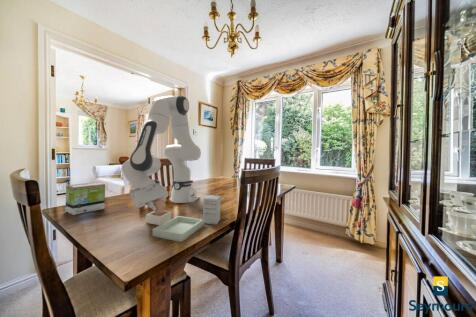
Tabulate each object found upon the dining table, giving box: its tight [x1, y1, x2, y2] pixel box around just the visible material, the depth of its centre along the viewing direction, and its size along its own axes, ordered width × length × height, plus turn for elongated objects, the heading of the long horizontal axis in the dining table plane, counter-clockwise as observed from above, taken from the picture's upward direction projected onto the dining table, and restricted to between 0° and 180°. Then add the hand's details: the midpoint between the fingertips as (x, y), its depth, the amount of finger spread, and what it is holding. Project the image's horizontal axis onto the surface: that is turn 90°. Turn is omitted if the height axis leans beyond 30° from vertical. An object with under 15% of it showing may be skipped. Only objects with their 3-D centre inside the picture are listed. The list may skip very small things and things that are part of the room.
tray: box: [152, 215, 205, 243], centre depth 88 cm, size 18×14×3 cm
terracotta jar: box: [153, 199, 165, 216], centre depth 99 cm, size 4×4×10 cm
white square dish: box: [145, 210, 172, 226], centre depth 99 cm, size 8×8×4 cm
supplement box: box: [202, 194, 222, 225], centre depth 101 cm, size 7×7×13 cm
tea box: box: [64, 182, 106, 216], centre depth 111 cm, size 15×10×15 cm, turn 151°
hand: (160, 208), depth 98 cm, fingers closed on terracotta jar, 4 cm apart
